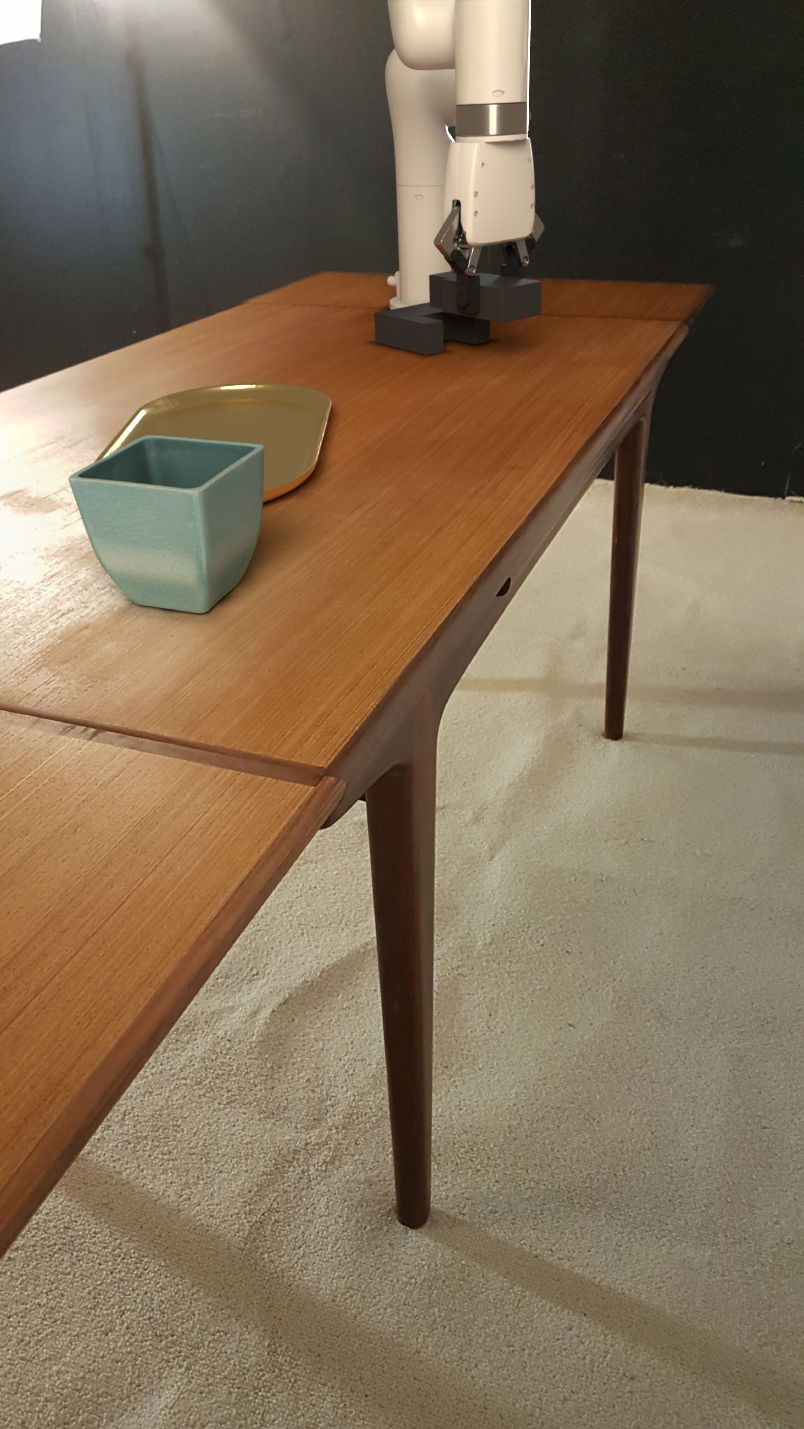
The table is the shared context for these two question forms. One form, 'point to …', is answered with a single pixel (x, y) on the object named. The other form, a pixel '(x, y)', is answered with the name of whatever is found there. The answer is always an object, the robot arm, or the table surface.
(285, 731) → the table surface
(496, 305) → the pad
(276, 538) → the table surface
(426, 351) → the notch pad
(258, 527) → the flower pot
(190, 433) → the serving platter
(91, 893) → the table surface
